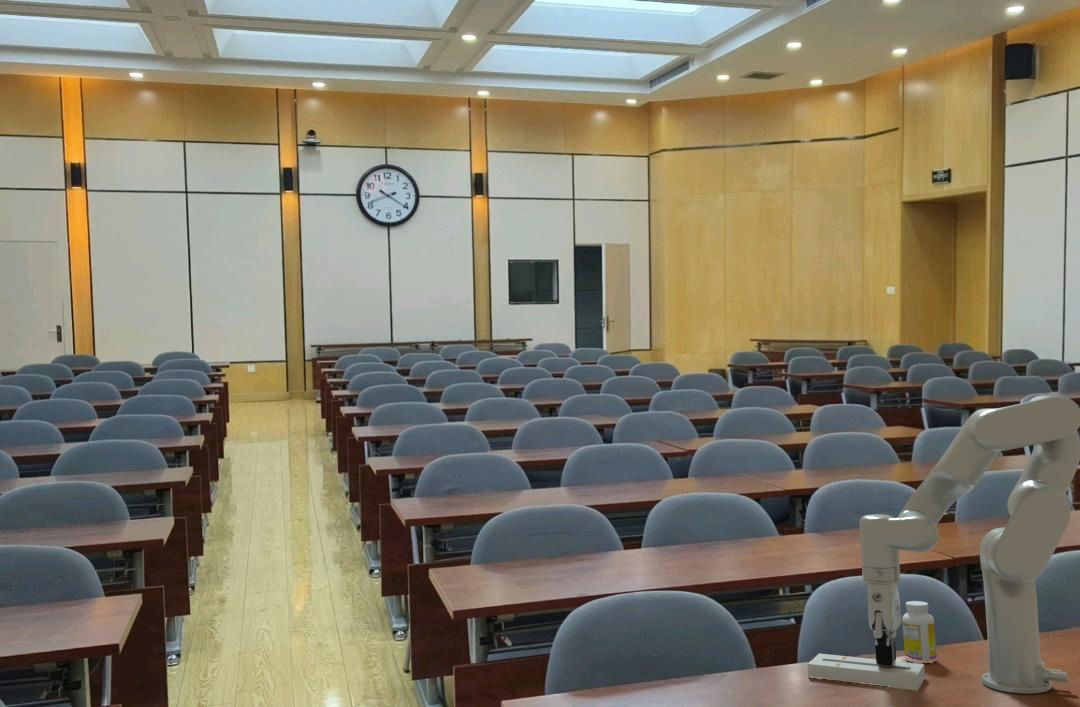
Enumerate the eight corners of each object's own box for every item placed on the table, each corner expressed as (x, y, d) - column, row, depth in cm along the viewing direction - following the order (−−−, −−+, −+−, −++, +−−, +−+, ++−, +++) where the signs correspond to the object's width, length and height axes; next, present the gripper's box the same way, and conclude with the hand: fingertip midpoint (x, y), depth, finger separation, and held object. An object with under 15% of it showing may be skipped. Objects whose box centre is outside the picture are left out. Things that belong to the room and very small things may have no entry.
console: (925, 678, 195) (924, 663, 196) (917, 690, 188) (916, 675, 188) (819, 667, 207) (818, 653, 207) (808, 678, 199) (807, 663, 199)
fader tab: (898, 663, 196) (896, 630, 196) (894, 668, 193) (892, 633, 193) (878, 661, 198) (876, 628, 198) (874, 666, 195) (872, 632, 195)
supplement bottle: (931, 656, 211) (927, 599, 212) (941, 664, 205) (937, 606, 205) (901, 657, 212) (897, 600, 213) (909, 665, 205) (906, 606, 206)
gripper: (892, 582, 187) (897, 674, 186) (906, 568, 201) (912, 654, 200) (853, 579, 191) (859, 670, 190) (871, 566, 205) (876, 650, 204)
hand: (886, 661), depth 195 cm, fingers closed on fader tab, 3 cm apart
